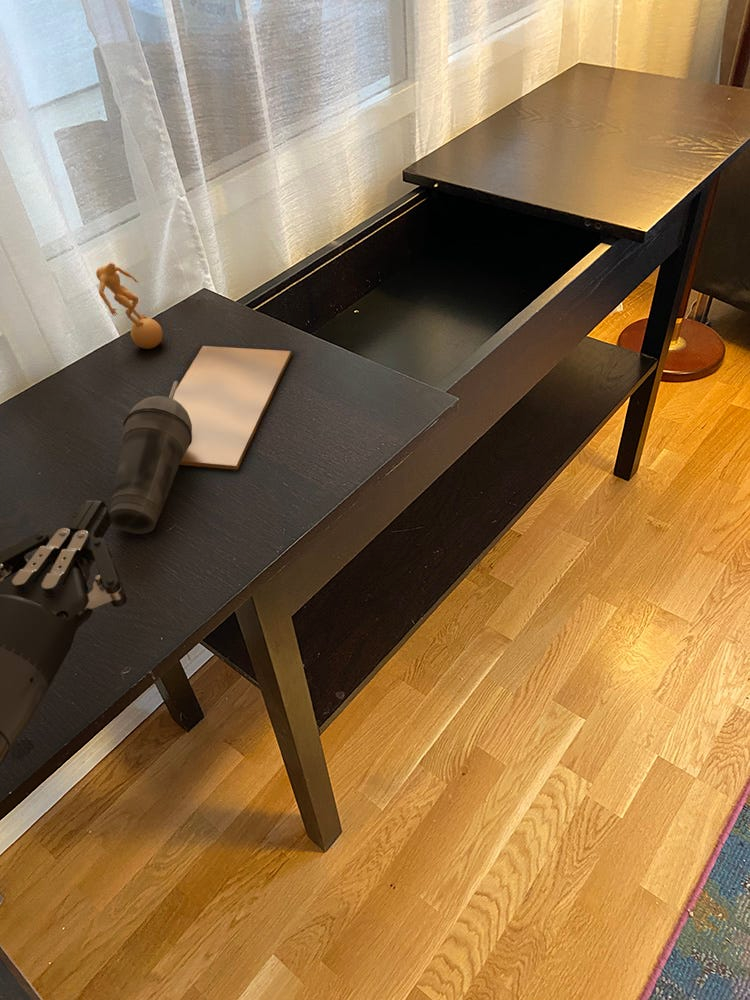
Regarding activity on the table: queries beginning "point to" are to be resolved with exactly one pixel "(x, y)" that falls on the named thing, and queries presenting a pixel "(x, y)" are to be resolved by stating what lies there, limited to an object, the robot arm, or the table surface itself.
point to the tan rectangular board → (227, 401)
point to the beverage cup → (149, 461)
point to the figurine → (129, 307)
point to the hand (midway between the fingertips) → (99, 507)
